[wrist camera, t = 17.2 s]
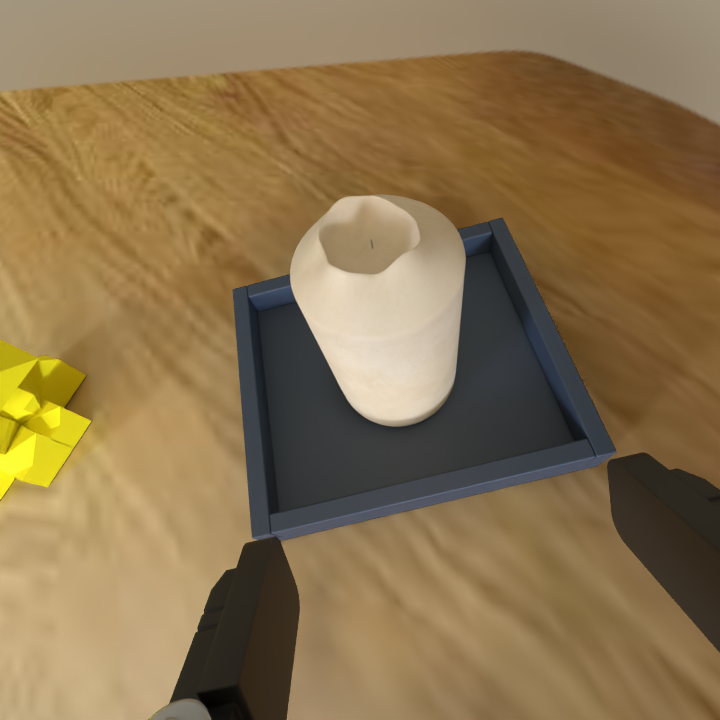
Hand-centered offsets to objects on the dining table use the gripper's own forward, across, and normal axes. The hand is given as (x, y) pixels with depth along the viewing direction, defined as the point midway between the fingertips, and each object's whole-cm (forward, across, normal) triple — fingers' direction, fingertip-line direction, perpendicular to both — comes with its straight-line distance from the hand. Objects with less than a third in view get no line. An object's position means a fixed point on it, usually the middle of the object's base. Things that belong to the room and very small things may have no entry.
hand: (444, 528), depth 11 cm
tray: (+12, 0, 0) cm, 12 cm away
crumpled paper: (+13, +20, -1) cm, 24 cm away
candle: (+11, 0, 0) cm, 11 cm away
